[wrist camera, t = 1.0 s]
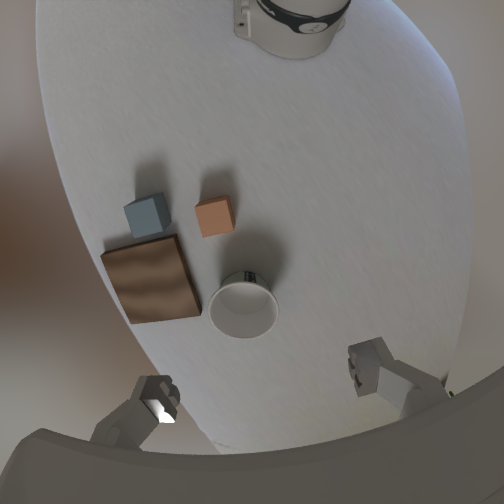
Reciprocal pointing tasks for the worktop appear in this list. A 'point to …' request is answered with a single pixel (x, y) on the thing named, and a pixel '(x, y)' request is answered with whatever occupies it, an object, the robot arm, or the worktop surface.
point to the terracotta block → (215, 216)
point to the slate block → (147, 215)
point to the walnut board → (152, 281)
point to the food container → (243, 307)
